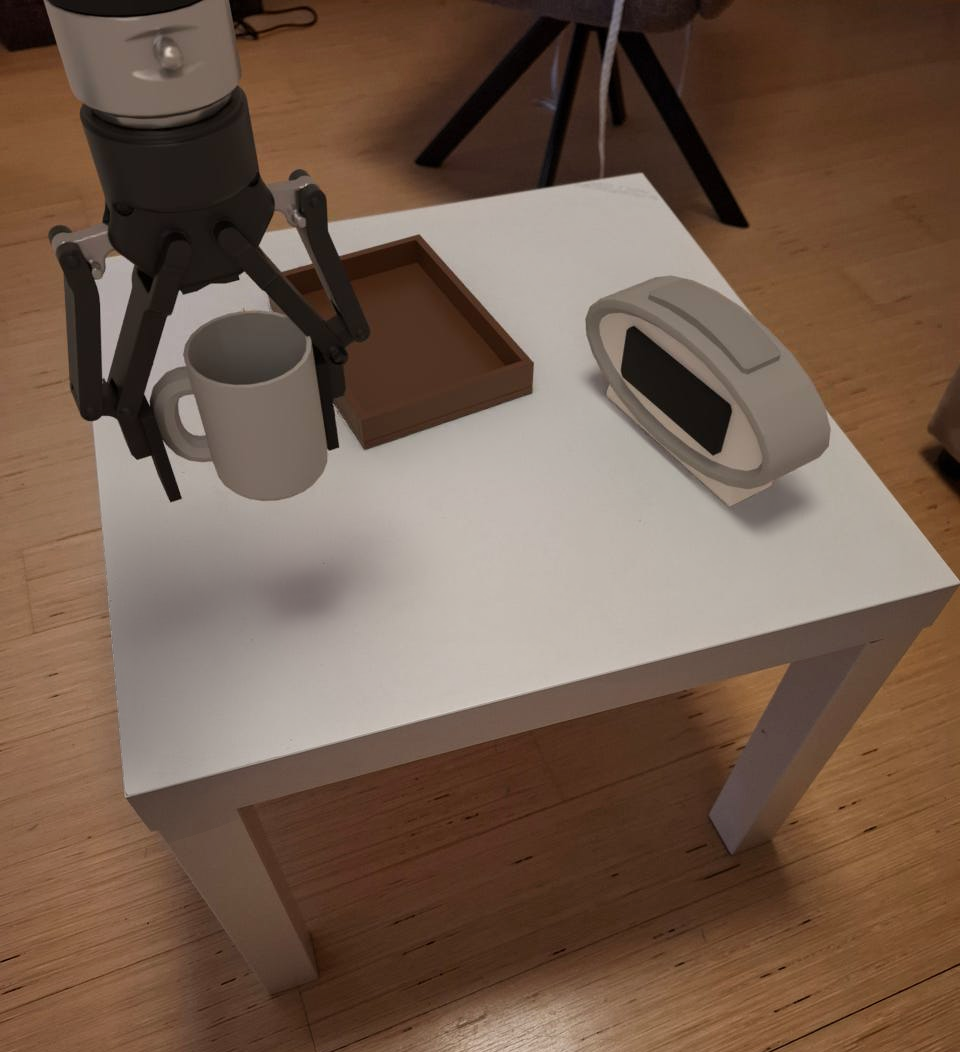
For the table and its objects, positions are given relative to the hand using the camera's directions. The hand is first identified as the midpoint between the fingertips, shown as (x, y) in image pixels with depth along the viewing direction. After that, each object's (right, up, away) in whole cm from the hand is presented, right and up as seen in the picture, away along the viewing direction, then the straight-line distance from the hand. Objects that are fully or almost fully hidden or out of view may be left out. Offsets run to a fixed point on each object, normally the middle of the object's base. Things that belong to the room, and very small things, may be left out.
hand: (250, 461), depth 60 cm
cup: (0, -1, 0) cm, 1 cm away
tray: (+7, +16, +29) cm, 34 cm away
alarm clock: (+33, +6, +21) cm, 39 cm away
